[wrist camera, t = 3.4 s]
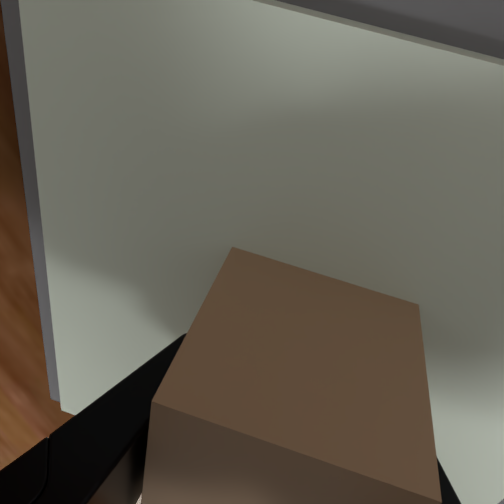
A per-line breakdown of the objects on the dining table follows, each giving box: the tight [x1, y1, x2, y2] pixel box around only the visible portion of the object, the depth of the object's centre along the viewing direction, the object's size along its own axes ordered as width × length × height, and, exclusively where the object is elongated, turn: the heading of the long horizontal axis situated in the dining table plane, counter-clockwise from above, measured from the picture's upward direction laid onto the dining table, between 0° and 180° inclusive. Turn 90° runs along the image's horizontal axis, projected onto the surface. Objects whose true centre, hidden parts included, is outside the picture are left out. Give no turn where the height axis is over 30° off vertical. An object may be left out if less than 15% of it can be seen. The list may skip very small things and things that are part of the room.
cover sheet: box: [18, 0, 504, 504], centre depth 9 cm, size 13×13×5 cm
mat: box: [1, 0, 504, 504], centre depth 11 cm, size 15×15×1 cm
